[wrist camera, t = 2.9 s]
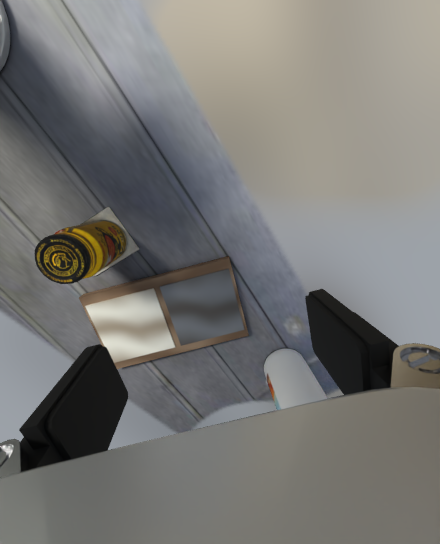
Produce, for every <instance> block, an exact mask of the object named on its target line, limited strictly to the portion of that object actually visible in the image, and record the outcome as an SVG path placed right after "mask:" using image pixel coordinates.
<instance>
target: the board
mask: <svg viewBox="0 0 440 544" xmlns="http://www.w3.org/2000/svg"><path fill="white" fill-rule="evenodd" d="M79 299H80V301H81V303H82V305H83V307H84V310H85V312H86V314H87V316H88V318H89V320H90V322H91V324H92V326H93V328H94V330H95V332H96V334H97V336H98V338H99V340H100V342H101V344H102V346H103V347H104V346H105V347H106V348H107V349H108V351H109V353H110V355H111V358H112V360H113V362H114V364H115V366H116V368H117V369H119V368H123V367H127V366H131V365H134V364H138V363H142V362H146V361H150V360H154V359H158V358H162V357H166V356H170V355H174V354H178V353H182V352H186V351H190V350H194V349H198V348H202V347H205V346H209V345H213V344H217V343H221V342H225V341H229V340H233V339H237V338H241V337H245V336H249V334H248V330H247V326H246V322H245V318H244V314H243V310H242V306H241V302H240V298H239V294H238V290H237V286H236V282H235V278H234V274H233V270H232V266H231V262H230V258H229V256H227V257H223V258H220V259H216V260H212V261H208V262H204V263H200V264H197V265H193V266H189V267H185V268H181V269H178V270H174V271H170V272H166V273H162V274H158V275H155V276H151V277H147V278H143V279H139V280H136V281H132V282H128V283H124V284H120V285H117V286H113V287H109V288H105V289H101V290H97V291H94V292H90V293H86V294H83V295H82V296H81V297H79Z"/></svg>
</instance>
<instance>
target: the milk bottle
mask: <svg viewBox="0 0 440 544" xmlns="http://www.w3.org/2000/svg"><path fill="white" fill-rule="evenodd" d="M264 373H265V376H266V379H267V382H268V385H269V388H270V391H271V394H272V397H273V400H274V403H275V406H276V409H277V410H280V409H284V408H289V407H293V406H297V405H302V404H306V403H310V402H315V401H319V400H323V399H328V398H327V396H326V394H325V393H324V391H323V389H322V388H321V386H320V384H319V383H318V381H317V379H316V378H315V376H314V374H313V373H312V371H311V369H310V368H309V366H308V365H307V363H306V361H305V360H304V358H303V357H302V355H301V354H300V353H298V352H297V351H295V350H293V349H286V348H284V349H279V350H276V351H274V352H273V353H271V354H270V355H269V356H268V357H267V359H266V361H265V364H264Z"/></svg>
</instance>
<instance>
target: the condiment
mask: <svg viewBox="0 0 440 544" xmlns="http://www.w3.org/2000/svg"><path fill="white" fill-rule="evenodd" d="M137 250H139V248H138V246H137V245H136V244H135V242H134V241H133V239H132V238H131V236H130V235H129V234H128V232H127V231H126V229H125V228H124V227H123V225H122V224H121V222H120V221H119V220H118V218H117V217H116V216H115V214H114V213H113V212H112V210H111V209H110V207H107V208H105V209H104V210H102V211H101V212H99V213H98V214H96V215H95V216H93V217H92V218H90V219H89V220H87V221H85V222H84V223H82V224H80V225H78V226H73V227H67V228H64V229H62V230H59V231H58V232H56V233H55V234H54V235H51V236H48V237H45V238H44V239H43V240H41V241H40V242H39V243H38V245H37V246H36V249H35V260H36V265H37V267H38V268H39V270H40V271H41V272H42V273H43V275H44V276H46V277H47V278H48V279H50V280H51V281H54V282H57V283H60V284H69V283H74V282H78V281H79V280H81V279H83V278H88V277H91V276H93V275H94V276H96V275H98V274H100V273H101V272H103V271H104V270H106V269H108V268H109V267H111V266H113V265H114V264H116V263H118V262H119V261H121V260H122V259H124V258H126V257H127V256H129V255H131V254H132V253H134V252H136V251H137Z"/></svg>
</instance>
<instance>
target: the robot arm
mask: <svg viewBox="0 0 440 544" xmlns="http://www.w3.org/2000/svg"><path fill="white" fill-rule="evenodd" d="M9 48H10V28H9V23H8V17H7V14H6V11H5V8H4V6H3V3H2V1H1V0H0V71H1V69H2V68H3V66H4V65H5V63H6V60H7V57H8V54H9ZM306 305H307V312H308V319H309V326H310V333H311V340H312V346H313V350H314V352H315V354H316V355H317V357H318V358H319V360H320V361H321V363H322V364H323V365H324V367H325V368H326V370H327V371H328V373H329V374H330V375H331V377H332V378H333V380H334V381H335V383H336V384H337V385H338V387H339V388H340V390H341V391H342V393H343V394H344V395H343V396H337V397H332V398H328V399H323V400H319V401H315V402H310V403H306V404H302V405H297V406H293V407H289V408H284V409H280V410H276V411H272V412H267V413H263V414H259V415H254V416H250V417H246V418H241V419H237V420H233V421H229V422H224V423H220V424H216V425H212V426H207V427H203V428H199V429H195V430H191V431H186V432H182V433H178V434H174V435H170V436H166V437H161V438H157V439H153V440H149V441H145V442H140V443H136V444H132V445H128V446H124V447H120V448H116V449H111V450H108V447H109V445H110V442H111V440H112V437H113V435H114V432H115V430H116V427H117V425H118V422H119V420H120V417H121V415H122V412H123V409H124V407H125V405H126V402H127V399H128V392H127V389H126V387H125V385H124V383H123V381H122V379H121V377H120V375H119V372H118V370H117V368H116V366H115V364H114V362H113V360H112V358H111V355H110V353H109V351H108V349H107V348H106V347H105V346H104V347H103V346H102V345H100V344H99V345H95V346H91V347H87V348H86V349H85V350H84V351H83V352H82V353H81V355H80V356H79V357H78V358H77V360H76V361H75V362H74V363H73V364H72V366H71V367H70V368H69V369H68V371H67V372H66V373H65V374H64V375H63V377H62V378H61V379H60V381H59V382H58V383H57V384H56V385H55V386H54V388H53V389H52V390H51V391H50V393H49V394H48V395H47V396H46V398H45V399H44V400H43V401H42V402H41V404H40V405H39V406H38V407H37V408H36V410H35V411H34V412H33V414H32V415H31V416H30V417H29V418H28V420H27V421H26V422H25V423H24V424H23V426H22V427H21V428H20V432H21V433H22V434H23V436H24V438H23V439H22V441H21V442H19V440H16V439H11V440H7V441H5V442H2V443H0V544H440V349H439V348H436V347H433V346H429V345H425V344H416V343H412V344H405V345H401V346H398V345H397V344H395V343H394V342H393V341H392V340H390V339H389V338H388V337H386V336H385V335H384V334H382V333H381V332H380V331H379V330H377V329H376V328H375V327H373V326H372V325H371V324H369V323H368V322H367V321H365V320H364V319H363V318H361V317H360V316H359V315H357V314H356V313H354V312H352V311H351V310H349V309H348V308H347V307H345V306H344V305H343V304H342V303H340V302H339V301H338V300H337V299H335V298H334V297H333V296H331V295H330V294H329V293H327V292H326V291H325V290H323V289H320V290H316V291H312V292H309V296H306Z"/></svg>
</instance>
